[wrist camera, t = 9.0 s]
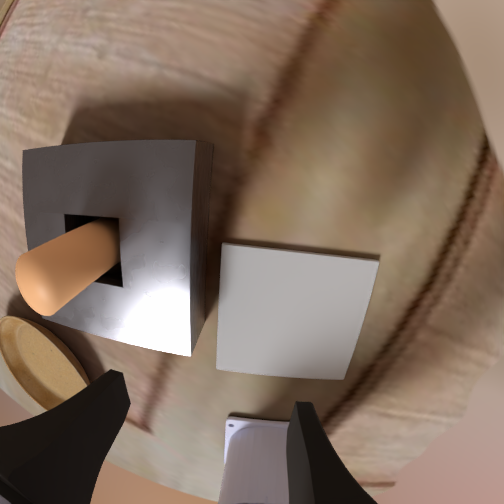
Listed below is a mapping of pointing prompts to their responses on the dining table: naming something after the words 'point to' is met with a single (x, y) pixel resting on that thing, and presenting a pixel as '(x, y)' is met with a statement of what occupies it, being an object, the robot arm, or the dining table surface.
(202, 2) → the dining table surface
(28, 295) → the peg
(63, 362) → the plant saucer
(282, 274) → the mat
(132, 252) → the socket block
